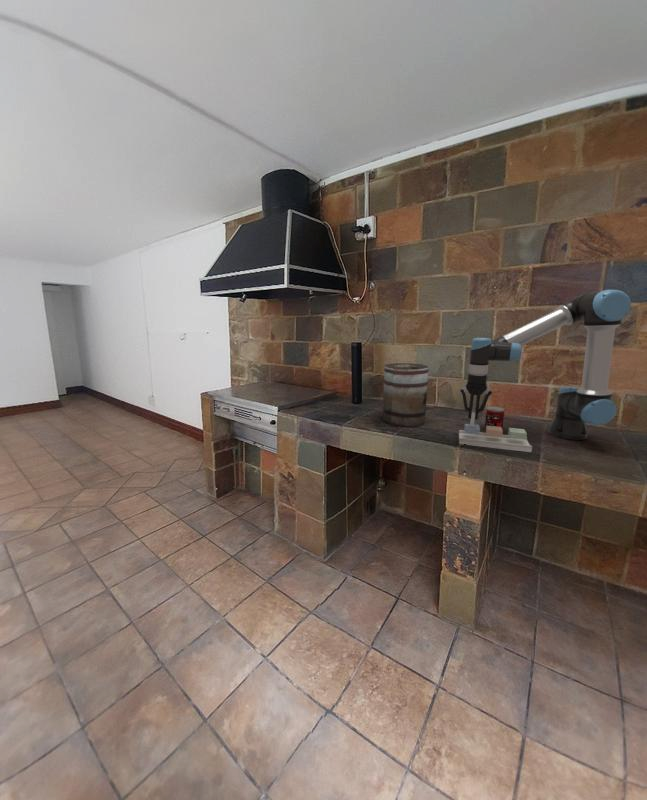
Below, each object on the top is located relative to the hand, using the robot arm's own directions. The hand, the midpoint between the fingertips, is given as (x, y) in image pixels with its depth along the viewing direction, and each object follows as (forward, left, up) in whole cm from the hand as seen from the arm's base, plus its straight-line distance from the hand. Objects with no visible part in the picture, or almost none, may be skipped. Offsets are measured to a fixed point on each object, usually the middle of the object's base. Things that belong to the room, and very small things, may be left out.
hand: (471, 425), depth 151 cm
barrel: (+33, -20, -7) cm, 39 cm away
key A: (-18, 0, -3) cm, 18 cm away
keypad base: (-9, 0, -7) cm, 12 cm away
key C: (0, 0, -3) cm, 3 cm away
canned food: (-11, -20, -7) cm, 24 cm away
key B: (-9, 0, -3) cm, 10 cm away
